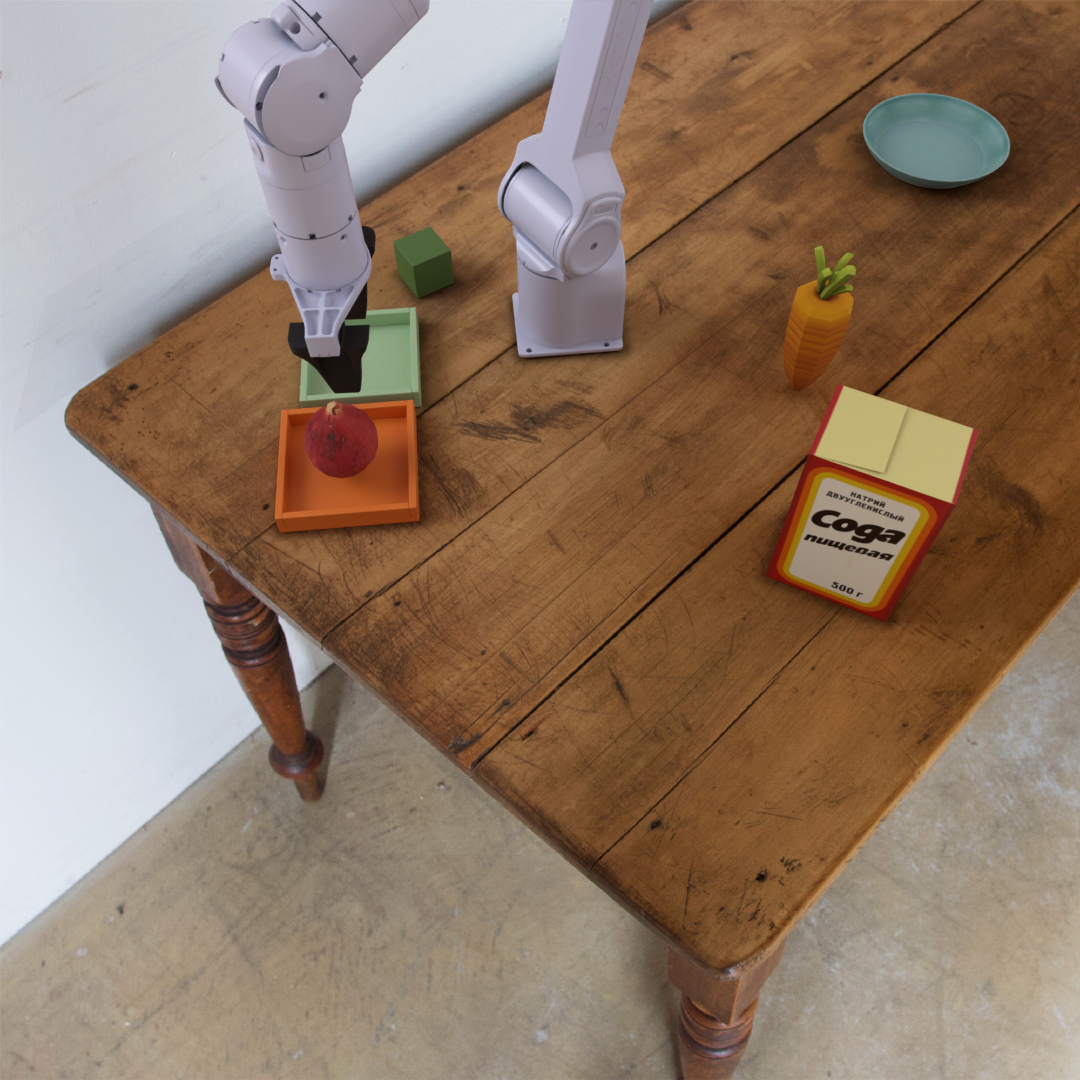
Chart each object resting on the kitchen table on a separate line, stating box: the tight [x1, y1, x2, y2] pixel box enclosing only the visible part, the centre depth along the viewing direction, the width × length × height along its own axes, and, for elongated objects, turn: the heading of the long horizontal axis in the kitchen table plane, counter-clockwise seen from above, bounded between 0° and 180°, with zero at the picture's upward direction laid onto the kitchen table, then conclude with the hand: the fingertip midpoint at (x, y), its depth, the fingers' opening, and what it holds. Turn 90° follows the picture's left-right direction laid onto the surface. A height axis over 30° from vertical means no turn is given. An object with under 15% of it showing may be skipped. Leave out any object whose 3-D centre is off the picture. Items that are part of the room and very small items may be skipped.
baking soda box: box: [764, 383, 980, 623], centre depth 71 cm, size 10×6×16 cm
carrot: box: [782, 245, 857, 392], centre depth 81 cm, size 5×5×15 cm
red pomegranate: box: [304, 401, 378, 479], centre depth 79 cm, size 6×6×8 cm
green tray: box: [299, 306, 422, 408], centre depth 88 cm, size 10×10×2 cm
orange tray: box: [274, 400, 420, 534], centre depth 82 cm, size 11×11×2 cm
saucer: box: [862, 92, 1011, 190], centre depth 103 cm, size 15×15×3 cm
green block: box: [392, 226, 455, 299], centre depth 94 cm, size 4×4×4 cm
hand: (350, 352), depth 78 cm, fingers open, 7 cm apart
